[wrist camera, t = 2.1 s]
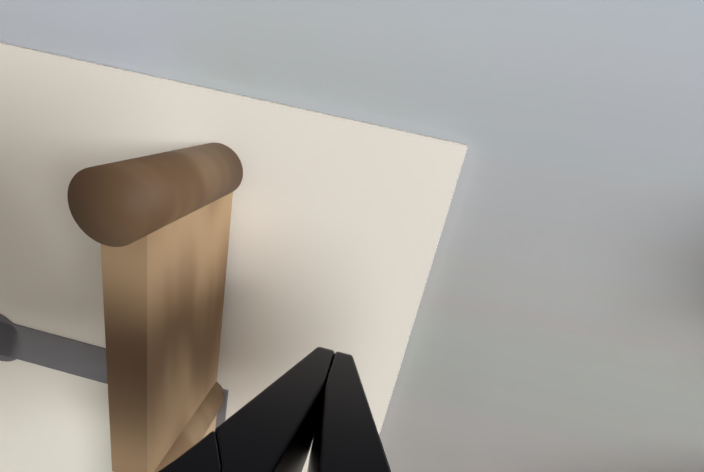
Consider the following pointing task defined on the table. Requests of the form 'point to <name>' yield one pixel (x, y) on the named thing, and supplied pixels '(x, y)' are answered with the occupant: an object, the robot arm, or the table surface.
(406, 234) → the board
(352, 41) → the table surface
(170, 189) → the fence gate
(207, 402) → the fence fixed
